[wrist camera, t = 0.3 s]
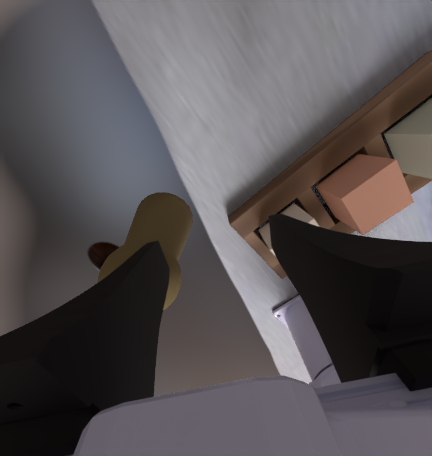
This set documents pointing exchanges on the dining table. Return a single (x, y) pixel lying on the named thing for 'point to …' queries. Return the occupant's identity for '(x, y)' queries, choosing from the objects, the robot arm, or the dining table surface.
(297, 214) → the cream button
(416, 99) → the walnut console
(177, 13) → the dining table surface
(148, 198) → the cork
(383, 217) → the terracotta button
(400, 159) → the sage button
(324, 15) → the dining table surface
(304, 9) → the dining table surface
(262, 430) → the robot arm
